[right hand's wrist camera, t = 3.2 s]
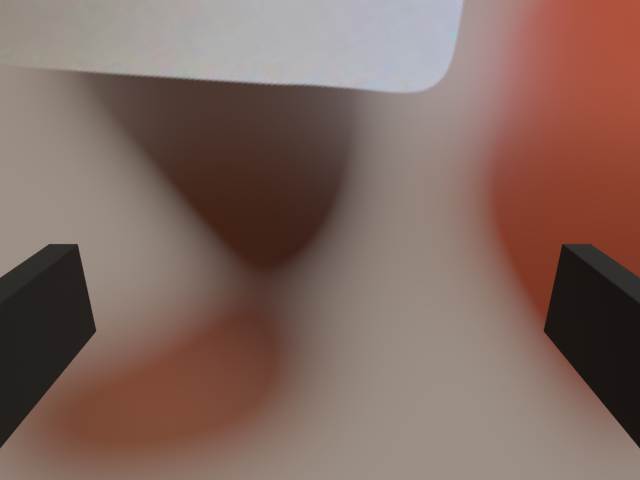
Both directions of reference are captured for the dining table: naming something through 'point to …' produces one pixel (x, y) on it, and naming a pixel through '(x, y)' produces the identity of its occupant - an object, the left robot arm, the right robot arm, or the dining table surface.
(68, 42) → the dining table surface
